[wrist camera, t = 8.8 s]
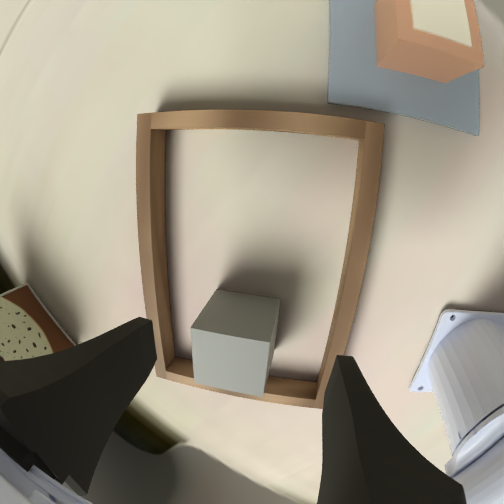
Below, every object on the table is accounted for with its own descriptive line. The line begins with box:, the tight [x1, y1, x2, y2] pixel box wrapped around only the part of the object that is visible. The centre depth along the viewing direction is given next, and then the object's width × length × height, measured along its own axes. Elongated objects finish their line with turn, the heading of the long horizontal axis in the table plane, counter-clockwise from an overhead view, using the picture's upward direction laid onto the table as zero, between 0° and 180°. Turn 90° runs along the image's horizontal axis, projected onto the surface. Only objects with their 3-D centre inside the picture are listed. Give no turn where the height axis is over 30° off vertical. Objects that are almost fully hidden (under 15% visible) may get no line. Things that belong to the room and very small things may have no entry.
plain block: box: [190, 289, 281, 397], centre depth 19 cm, size 4×4×5 cm
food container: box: [0, 282, 76, 361], centre depth 23 cm, size 12×6×10 cm, turn 42°
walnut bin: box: [136, 110, 385, 409], centre depth 19 cm, size 14×20×2 cm
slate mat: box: [328, 0, 480, 136], centre depth 12 cm, size 10×10×1 cm
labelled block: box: [374, 0, 484, 83], centre depth 10 cm, size 4×4×5 cm
